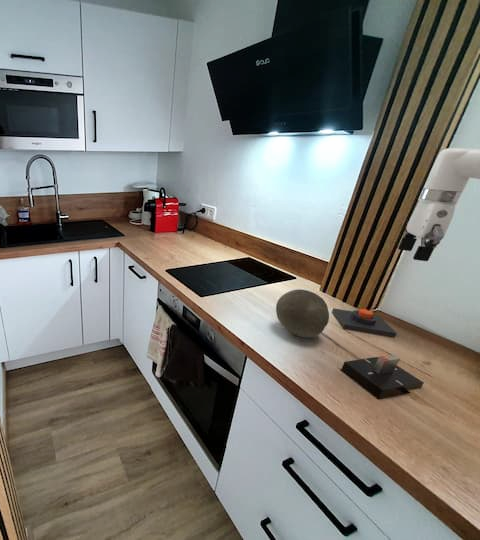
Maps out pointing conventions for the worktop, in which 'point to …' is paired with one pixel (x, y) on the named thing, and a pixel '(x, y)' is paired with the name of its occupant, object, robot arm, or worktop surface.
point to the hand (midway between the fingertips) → (411, 254)
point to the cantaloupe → (302, 313)
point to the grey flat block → (363, 323)
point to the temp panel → (380, 378)
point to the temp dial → (386, 364)
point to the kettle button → (365, 313)
